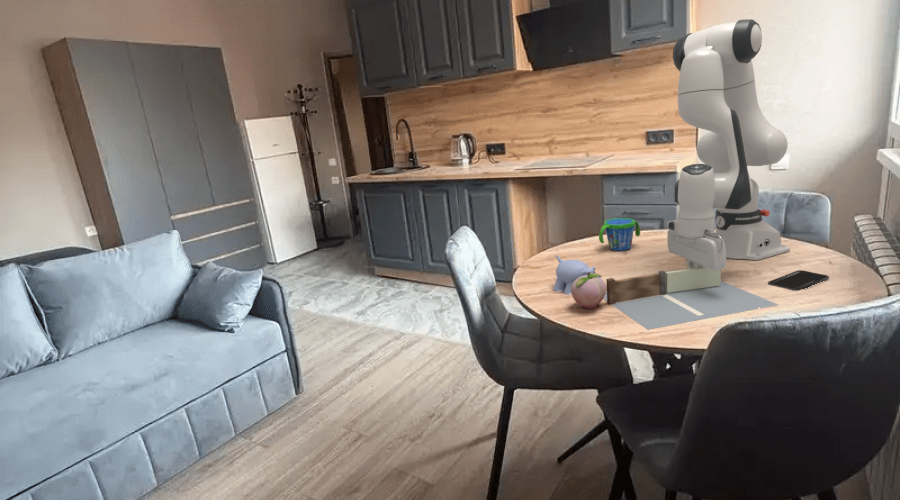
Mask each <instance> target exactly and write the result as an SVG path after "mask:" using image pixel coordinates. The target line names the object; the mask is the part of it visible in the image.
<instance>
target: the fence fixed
mask: <svg viewBox="0 0 900 500" xmlns="http://www.w3.org/2000/svg"><path fill="white" fill-rule="evenodd" d="M665 272H666V271H665V270H658V271H657V272H656V273H652V274H650V273H649V274H644V275H640V276H634V277H633V276H632V277H627V278H622V279H615V278H613V277H610V278H606V279H605V280H606V282H605V283H606V287H607V291H606V292H607V301H606V303H607V304H609V305H611V304H615V303H616V302H619V301H624V300H630V299H636V298H641V297H647V296H652V295H658V294H659V295H665Z"/></svg>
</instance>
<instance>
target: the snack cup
mask: <svg viewBox="0 0 900 500" xmlns="http://www.w3.org/2000/svg"><path fill="white" fill-rule="evenodd" d="M634 228H635V232H634ZM604 232H606V237H607V239H606V240H607V243H608V247H609V249H610V250H612V251H616V252H623V251H627V250H630V249H632V244H633V236H634V234H635V236H636V237H640V235H641V227H640V224H639V222H638V221H637V220H635V219H633V218H628V217H616V218H610V219H607V220H605V221H604V222H603V225H602V226H601V228H600V230H599V234H598V240H599V242H600V243H601V244H605V240H604Z"/></svg>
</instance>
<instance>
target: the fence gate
mask: <svg viewBox="0 0 900 500" xmlns="http://www.w3.org/2000/svg"><path fill="white" fill-rule="evenodd" d="M721 273H722V269H718V270H711V269H709V268H707V267H704V266H703V267H699V268H691V269H689V268H686V269H679V270H671V271H665V292H667V293H671V292H678V291H685V290H692V289H699V288H706V287H713V286H720V280H721V279H722V278H721V276H722V275H721Z"/></svg>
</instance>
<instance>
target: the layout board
mask: <svg viewBox="0 0 900 500" xmlns="http://www.w3.org/2000/svg"><path fill="white" fill-rule="evenodd" d="M603 300H604V301H605V302H607V291H606V294H605V296H604V298H603ZM610 305H611V306H612V307H614V308H616V309H617V310H619V311H620V312H621V313H623V314H624V315H626V316H627V317H628V318H630V319H632V320H633V321H634V322H636V323H638V324H639V325H640V326H642V327H643V328H644V329H646V330H648V331H649V330H655V329H659V328H665V327H669V326H675V325H676V326H677V325H680V324H681V325H682V324H685V323H690V322H697V321H703V320H706V319H713V318H717V317H724V316H727V315H732V314H734V315H735V314H738V313H745V312H747V311H754V310H759V309H758V308H759V307H760V309H763V308H764V309H765V308H770V307H775V306H779V304H778V303H776V302H773V301H770V300H768V299H766V298H764V297H761V296H758V294H757V295H756V294H754V293H752V292H749V291H747V290H745V289H742V288H740V287H737V286H736V285H733V284H731V283H727V282H725V281H723V280H721V279H720V286H713V287H706V288H699V289H692V290H685V291H678V292H671V293H667V292H665V295H659V294H658V295H652V296H647V297H641V298H636V299H630V300H624V301H619V302H616V303H615V304H610Z"/></svg>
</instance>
